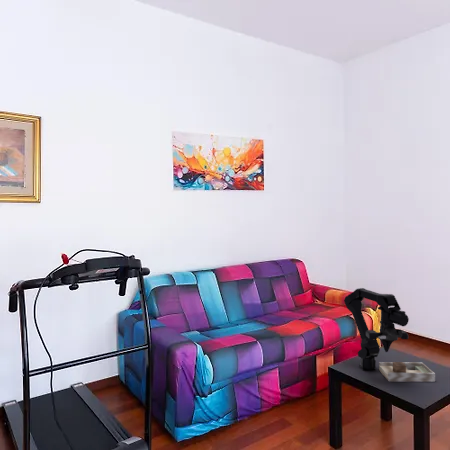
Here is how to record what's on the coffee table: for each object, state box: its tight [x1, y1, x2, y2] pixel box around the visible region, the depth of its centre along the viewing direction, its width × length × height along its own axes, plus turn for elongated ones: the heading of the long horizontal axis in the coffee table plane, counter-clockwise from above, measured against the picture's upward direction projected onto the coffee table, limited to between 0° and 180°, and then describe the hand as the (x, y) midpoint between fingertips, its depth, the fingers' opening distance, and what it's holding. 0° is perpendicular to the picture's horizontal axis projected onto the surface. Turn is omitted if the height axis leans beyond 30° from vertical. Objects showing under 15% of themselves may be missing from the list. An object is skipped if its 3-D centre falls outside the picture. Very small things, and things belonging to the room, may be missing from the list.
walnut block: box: [393, 361, 406, 373], centre depth 195 cm, size 4×4×4 cm
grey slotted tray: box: [378, 361, 436, 383], centre depth 198 cm, size 22×13×4 cm, turn 89°
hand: (386, 351), depth 195 cm, fingers closed
